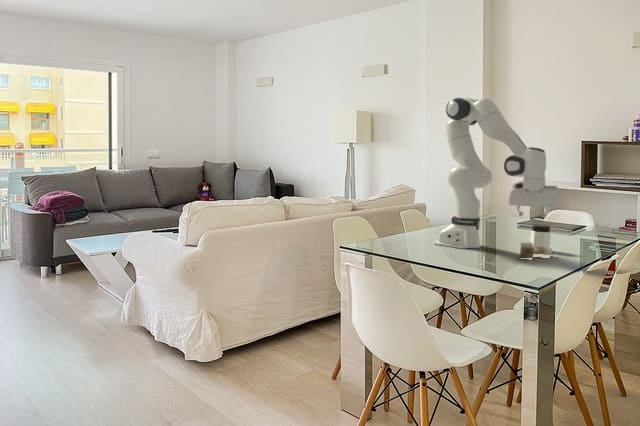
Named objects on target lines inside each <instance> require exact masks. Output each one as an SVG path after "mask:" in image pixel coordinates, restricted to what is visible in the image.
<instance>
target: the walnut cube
mask: <svg viewBox="0 0 640 426" xmlns="http://www.w3.org/2000/svg"><path fill="white" fill-rule="evenodd" d="M533 254H534V248H530V247H521V251H520V253H519V259H520V258H532V257H533ZM533 258H534V257H533Z"/></svg>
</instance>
